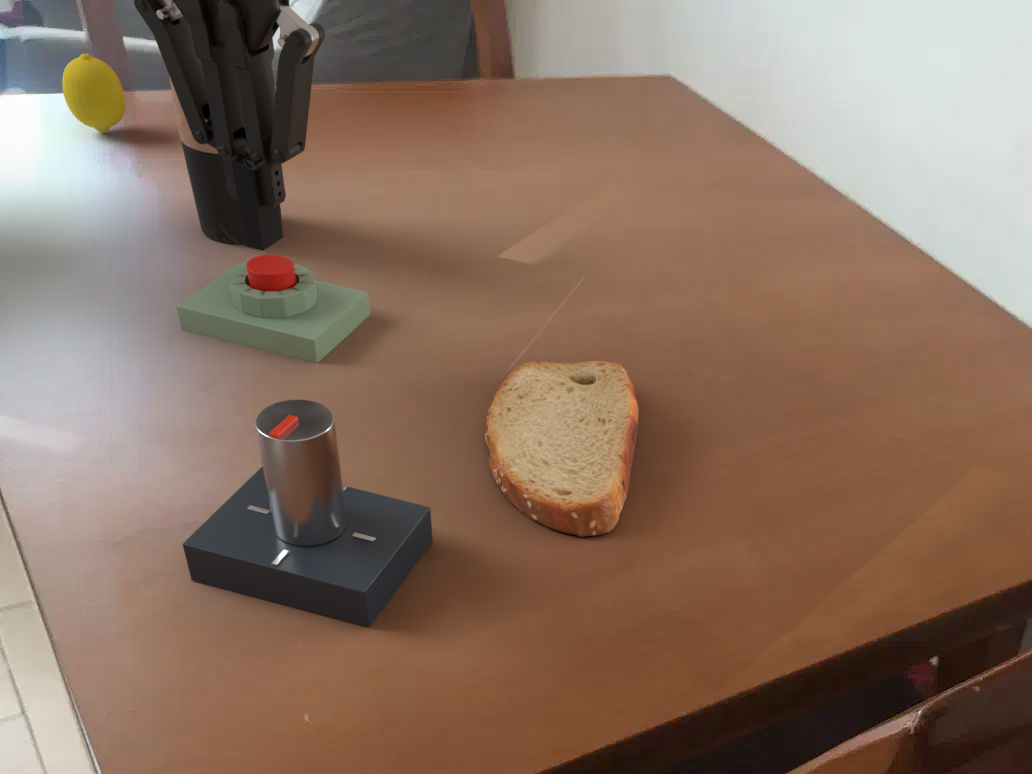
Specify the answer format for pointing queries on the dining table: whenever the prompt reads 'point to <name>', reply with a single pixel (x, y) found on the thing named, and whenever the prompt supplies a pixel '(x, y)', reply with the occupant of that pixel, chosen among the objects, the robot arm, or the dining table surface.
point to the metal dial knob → (302, 471)
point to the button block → (276, 314)
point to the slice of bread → (565, 443)
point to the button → (271, 273)
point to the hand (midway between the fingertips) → (264, 241)
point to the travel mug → (209, 186)
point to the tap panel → (312, 554)
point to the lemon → (93, 93)
